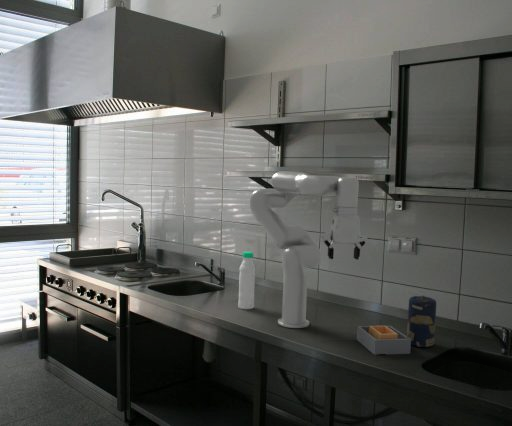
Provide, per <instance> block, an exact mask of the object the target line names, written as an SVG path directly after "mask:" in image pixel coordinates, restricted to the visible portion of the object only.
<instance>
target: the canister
mask: <svg viewBox="0 0 512 426" xmlns="http://www.w3.org/2000/svg"><path fill="white" fill-rule="evenodd" d="M407 311H408V312H407V328H406V336H407V337H408V338H410V339H411V345H412V346H414V347H415V346H416V347H419V348H429V347H433V346H434V345H435V337H436V333H435V332H436V326H437V325H436V321H437V320H436V315H437V301H436V299H434V298H432V297H429V296H425V295H415V296H414V295H413V296H411V297H409V300H408V310H407Z"/></svg>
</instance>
